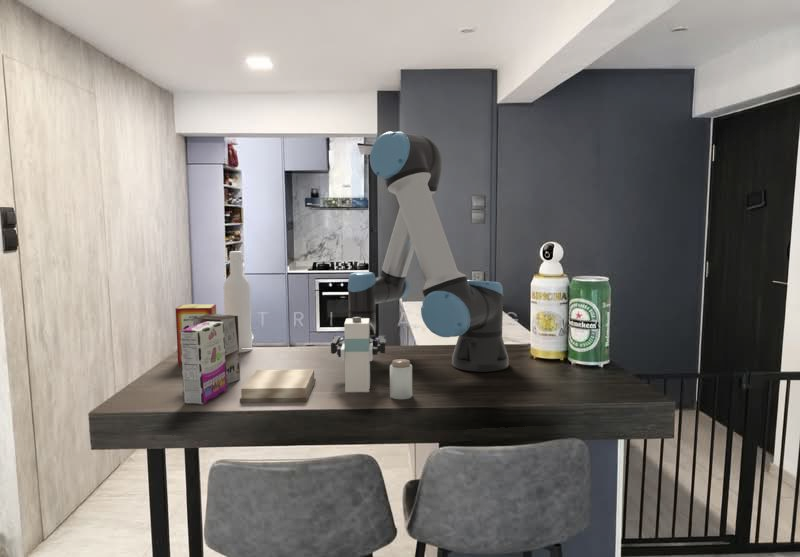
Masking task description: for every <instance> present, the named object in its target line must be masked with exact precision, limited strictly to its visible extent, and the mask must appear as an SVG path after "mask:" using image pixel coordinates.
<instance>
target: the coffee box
mask: <svg viewBox="0 0 800 557" xmlns="http://www.w3.org/2000/svg"><path fill="white" fill-rule="evenodd" d="M207 321H211V322H212V321H216V322H224V342H225V360H226V379H227V385H229V384H231V383H234V382H237V381H240V379H241V371H240V370H241V365H240V362H241V360H240V353H239V335H238V316H233V315H225V314H220V313H218V314H217V313H216V314H208V315H203V316H200V317H196V318H193V326H195V325H197V324H200V323H203V322H207Z"/></svg>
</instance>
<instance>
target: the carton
mask: <svg viewBox="0 0 800 557" xmlns="http://www.w3.org/2000/svg"><path fill="white" fill-rule="evenodd" d="M343 327H344V328H343V329H344V330H343V331H344V335H343V336H345V338H344V348H345V360H344V384H345V385H344V386H345V387H344V389H345V393H370V390H369V389H370V388H371V387H370V386H371V361H369V344H370V331H369V318H361V317H353V318H349V317H348V318H345V321H344V324H343Z"/></svg>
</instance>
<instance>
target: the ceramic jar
mask: <svg viewBox="0 0 800 557" xmlns="http://www.w3.org/2000/svg"><path fill="white" fill-rule="evenodd" d="M389 397H390V398H391V399H393V400H409V399H411V398H412V397H413V365H412V364H411V361H410V359H404V358H399V359H398V358H397V359H393V360H391V364H390V365H389Z"/></svg>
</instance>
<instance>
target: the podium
mask: <svg viewBox="0 0 800 557" xmlns="http://www.w3.org/2000/svg"><path fill="white" fill-rule="evenodd" d="M315 381H317V379H316V377H315V369H312V368H311V369H310V368H309V369H308V368H307V369H256V370H255V372H254V373H253V374H252V375H251V376H250V377H249V379H248V380H247V381H246V382H245V383H244V384H243V386H242V387H241V389H240V390H241V392H240V394H241V396H240V398H239V403H240V402H242V403H299V402H300V403H302V402H303V403H305V402H306V403H307V402H308V400H309V398H310V396H311V393H312V390H313V388H314V387H315V384H316V382H315Z"/></svg>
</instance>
